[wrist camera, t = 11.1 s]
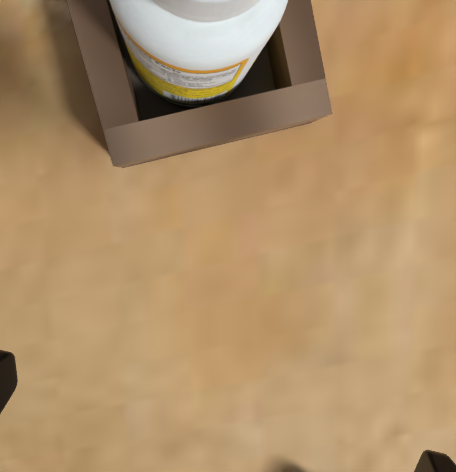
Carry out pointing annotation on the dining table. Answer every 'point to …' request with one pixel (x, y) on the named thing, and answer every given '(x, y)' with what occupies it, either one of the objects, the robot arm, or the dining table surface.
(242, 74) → the supplement bottle
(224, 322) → the dining table surface
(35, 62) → the dining table surface
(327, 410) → the dining table surface
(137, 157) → the socket block
